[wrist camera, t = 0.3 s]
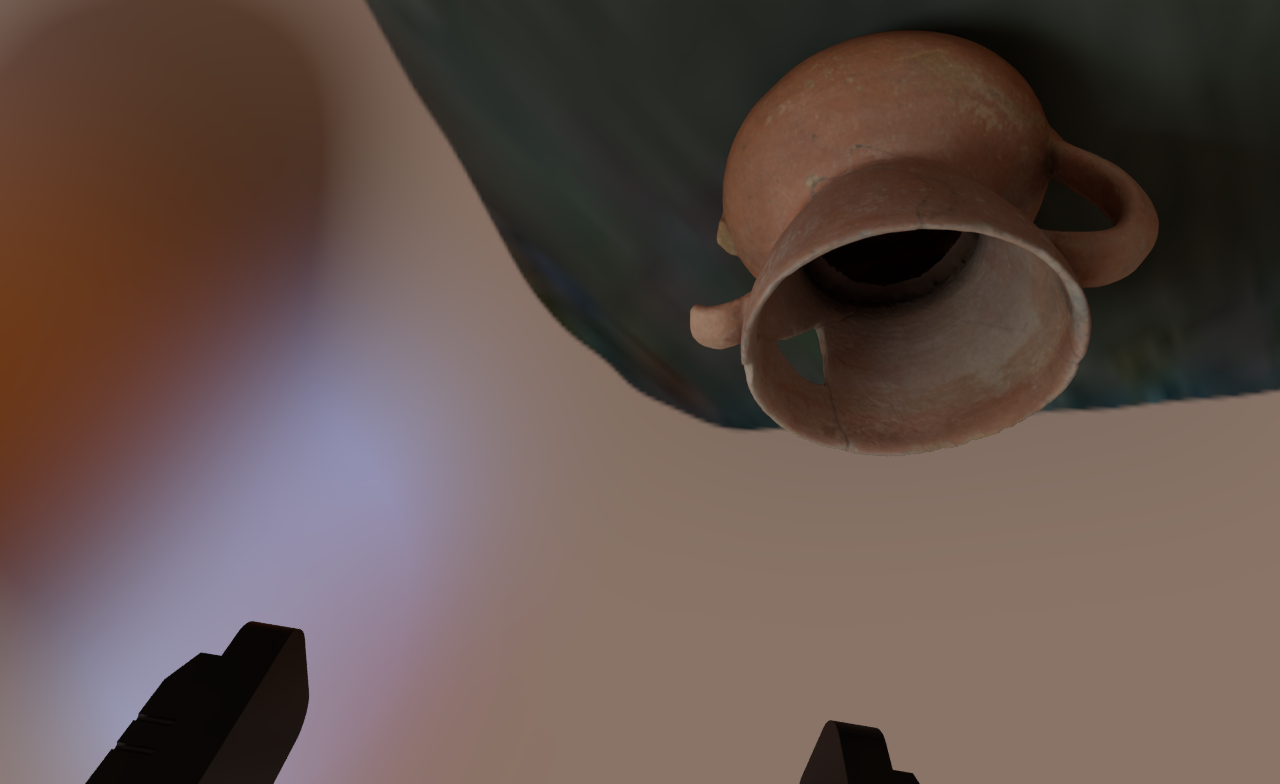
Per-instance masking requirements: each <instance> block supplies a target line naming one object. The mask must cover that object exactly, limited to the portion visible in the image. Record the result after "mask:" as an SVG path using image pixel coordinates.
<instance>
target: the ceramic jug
mask: <svg viewBox="0 0 1280 784" xmlns="http://www.w3.org/2000/svg"><path fill="white" fill-rule="evenodd" d="M1050 180H1054V181H1056V182H1061V183H1062V184H1064V185H1066V186H1067V187H1068V188H1070V189H1071V190H1072V191H1074V192H1076V193H1078V194H1079V195H1080V196H1081V197H1083V198H1086V199H1087V200H1088V201H1090V202H1091V203H1093V204H1094V205H1096V206H1097V207H1098V208H1099V209H1100V210H1102V211H1103V213H1104V214H1105V215H1106V216H1107V217H1108V218H1109V219H1110V220H1111V221H1112V223H1113V225H1114V227H1112V228H1110V229H1107V230H1102V231H1095V232H1061V231H1051V230H1044V229H1039V228H1038V227H1037V226H1036V225H1035V224H1034V223H1033V221H1034V219H1035V217H1036V215H1037V213H1038V211H1039V209H1040V206H1041V204H1042V201H1043V198H1044V195H1045V192H1046V189H1047V186H1048V182H1049V181H1050ZM1158 229H1159V221H1158V216H1157V213H1156V211H1155V208H1154V206H1153V204H1152V202H1151V200H1150V199H1149V197H1148V196H1147V194H1146V193H1145V191H1144V190H1143V189H1142V188H1141V187H1140V186H1139V184H1138V183H1137V182H1136V181H1135V180H1134V179H1133V178H1132V177H1131V176H1129V175H1128V174H1127V173H1126V172H1125V171H1124V170H1122V169H1121V168H1119V167H1118V166H1117V165H1115V164H1113V163H1111V162H1110V161H1108V160H1106V159H1103V158H1101V157H1099V156H1097V155H1095V154H1093V153H1090V152H1088V151H1085V150H1083V149H1081V148H1078V147H1075V146H1073V145H1071V144H1069V143H1067V142H1065V141H1064V140H1063V139H1062V137H1060V136H1059V135H1058V134H1057V132H1056V131H1055V130H1054V129H1053V128H1051V126H1050V125H1049V123H1048V121H1047V119H1046V116H1045V113H1044V111H1043V109H1042V106H1041V104H1040V101H1039V100H1038V98H1037V96H1036V94H1035V93H1034V91H1033V89H1032V88H1031V86H1030V85H1029V84H1028V83H1027V81H1026V80H1025V79H1024V78H1023V76H1022V75H1021V74H1020V73H1019V72H1018V71H1017V70H1016V69H1015V68H1014V67H1012V66H1011V65H1010V64H1009V63H1008V62H1007V61H1005V60H1004V59H1003V58H1002V57H1000V56H999V55H997V54H996V53H994V52H993V51H991V50H989V49H987V48H986V47H984V46H981V45H979V44H977V43H975V42H973V41H970V40H967V39H964V38H961V37H957V36H954V35H949V34H945V33H939V32H932V31H920V30H899V31H888V32H879V33H873V34H868V35H863V36H860V37H856V38H853V39H849V40H846V41H843V42H841V43H838V44H836V45H833V46H831V47H829V48H826V49H824V50H822V51H819V52H818V53H816V54H814V55H812V56H810V57H809V58H807V59H805V60H804V61H802V62H801V63H800V64H798V65H797V66H795V67H794V68H793V69H792V70H790V71H789V72H788V73H787V74H786V75H785V76H783V77H782V78H781V79H780V80H779V81H778V82H777V83H776V84H775V85H774V86H773V87H772V88H771V89H770V90H769V91H768V92H767V93H766V94H765V95H764V96H763V97H762V98H761V99H760V100H759V101H758V102H757V103H756V104H755V105H754V106H753V108H752V109H751V111H750V112H749V114H748V115H747V117H746V118H745V120H744V122H743V123H742V125H741V127H740V129H739V130H738V132H737V134H736V137H735V139H734V141H733V144H732V147H731V149H730V153H729V156H728V159H727V164H726V169H725V174H724V181H723V214H722V217H721V220H720V222H719V229H718V232H717V242H718V244H719V245H721V246H722V248H724V249H725V251H727V252H728V253H730V254H731V255H736V256H738V257H739V258H740V259H741V260H742V262H743V263H744V265H745V266H746V268H747V269H748V270H749V271H750V272H751V274H752V275H753V276H754V277H755V278H756V281H755V284H754V286H753V289H752V291H751V292H749V293H748V294H746V295H744V296H743V297H741V298H738V299H736V300H733V301H731V302H728V303H725V304H721V305H717V306H703V305H699V304H697V305H695V306H693V308H692V309H691V312H690V315H691V318H690V327H691V332H692V336H693V337H694V338H695V339H696V341H697V342H699V343H700V344H702V345H703V346H706V347H710V348H714V349H725V348H728V347H732V346H735V345H737V344H739V343H741V359H742V364H743V365H744V368H745V372H746V378H747V383H748V386H749V389H750V391H751V393H752V395H753V397H754V399H755V400H756V401H757V403H758V404H759V406H760V407H761V408H762V409H763V411H764V412H765V413H766V414H767V415H768V416H770V417H771V418H772V419H773V420H774V421H775V422H776V423H777V424H779V425H780V426H781V427H783V428H784V429H786V430H788V431H789V432H791V433H792V434H795V435H796V436H798V437H800V438H803V439H805V440H808V441H810V442H813V443H815V444H818V445H821V446H825V447H828V448H833V449H841V450H845V451H848V452H851V453H855V454H864V455H876V456H903V455H911V454H920V453H925V452H931V451H935V450H939V449H941V448H953V447H957V446H959V445H963V444H965V443H967V442H969V441H971V440H977V439H980V438H984V437H987V436H990V435H993V434H996V433H999V432H1000V431H1001V430H1003V429H1005V428H1009V427H1012V426H1014V425H1015V424H1017V423H1019V422H1021V421H1023V420H1025V419H1026V418H1027V417H1029V416H1031V415H1033V414H1034V413H1036V412H1038V411H1039V410H1041V409H1043V408H1044V407H1045V406H1046V405H1047V404H1048V403H1050V402H1052V401H1053V400H1054V399H1055V398H1057V396H1059V395H1060V394H1061V393H1062V392H1063V391H1064V390H1065V389H1066V388H1067V387H1068V385H1069V384H1070V382H1071V381H1072V379H1073V378H1074V376H1075V375H1076V374H1077V371H1078V368H1079V366H1080V361H1081V359H1082V358H1083V357H1084V356H1085V355H1086V352H1087V348H1088V345H1089V340H1090V335H1091V326H1092V323H1091V313H1090V307H1089V305H1088V301H1087V298H1086V295H1085V293H1084V290H1083V288H1086V287H1100V286H1104V285H1108V284H1111V283H1113V282H1116V281H1119V280H1121V279H1123V278H1124V277H1126V276H1128V275H1130V274H1131V273H1132V272H1133V271H1135V270H1136V269H1137V267H1138V266H1139V265H1140V264H1141V263H1142V262H1143V260H1144V259H1145V258H1146V256H1147V255H1148V254H1149V253H1150V251H1151V249H1152V248H1153V246H1154V244H1155V242H1156V239H1157V236H1158ZM811 328H815V329H816V331H817V335H818V337H819V344H820V348H821V352H822V356H823V371H824V379H825V383H824V385H820V384H814V383H812V382H810V381H807V380H806V379H805V378H804V377H802V376H801V375H799V374H798V373H797V372H796V371H795V369H794V368H793V367H792V366H791V365H790V364H789V362H788V361H787V359H786V358H785V357H784V356H783V354H782V353H781V352H780V350H779V347H778V346H777V344H776V341H779V340H781V339H789V338H791V337H794V336H796V335H799V334H801V333H803V332H806V331H809V330H810V329H811Z"/></svg>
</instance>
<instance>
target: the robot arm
mask: <svg viewBox="0 0 1280 784" xmlns="http://www.w3.org/2000/svg"><path fill="white" fill-rule="evenodd" d="M308 701H309V687H308V674H307V661H306V649H305V637H304V633H303V631H302V630H301V629H296V628H290V627H284V626H278V625H272V624H266V623H260V622H254V621H251V622H248V623H247V624H245V625H244V626H243V627H242V628H241V629H240V630H239V632H238V633H237V634H236V636H235V637H234V639H233V640H232V642H231V643H230V645H229V646H228V647H227V649H226V650H225V652H224V653H223V655H222V656H219V655H212V654H207V653H200V654H198V655H197V656H196V657H194V658H193V659H191V660H190V661H189V662H187V663H186V664H185V665H184V666H182V667H181V668H179V669H178V670H177V671H175V672H174V673H172V674H171V675H170V676H168V677H167V678H166V679H164V681H163V682H162V683H161V685H160V686H159V687H158V689H157V690H156V691H155V693H154V694H153V695H152V696H151V698H150V699H149V700H148V702H147V703H146V704H145V706H144V707H143V708H142V710H141V711H140V712H139V715H138V718H137V720H136V721H135V720H133V721H132V723H131V724H130V725H129V727H128V728H127V729H126V731H125V732H124V733H123V735H122V736H121V737H120V739H119V740H118V741H117V746H116V747H115V749H114V750H113V749H111V751H110V752H109V753H108V754H107V756H106V757H105V758H104V760H103V761H102V762H101V764H100V765H99V766H98V768H97V769H96V770H95V772H94V773H93V774H92V776H91V777H90V778H89V780H88V781H87V782H86V783H85V784H274V781H275V780H276V778H277V776H278V774H279V772H280V770H281V768H282V766H283V764H284V762H285V761H286V759H287V757H288V755H289V753H290V751H291V749H292V747H293V745H294V743H295V742H296V739H297V738H298V735H299V733H300V731H301V728H302V725H303V723H304V719H305V716H306V712H307V708H308ZM800 784H919V782H918V781H917V779H916V778H915V776H914V774H913V773H908V772H902V771H896V770H893V769H892V765H891V761H890V758H889V753H888V749H887V745H886V742H885V738H884V736H883V734H882V732H881V731H880V730H879V729H877V728H873V727H867V726H862V725H855V724H850V723H844V722H838V721H832V720H830V721H828V722H827V723H826V724H825V726H824V728H823V730H822V732H821V735H820V737H819V739H818V741H817V744H816V746H815V748H814V750H813V753H812V755H811V757H810V759H809V762H808V764H807V766H806V768H805V770H804V773H803V775H802V777H801V781H800Z"/></svg>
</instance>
